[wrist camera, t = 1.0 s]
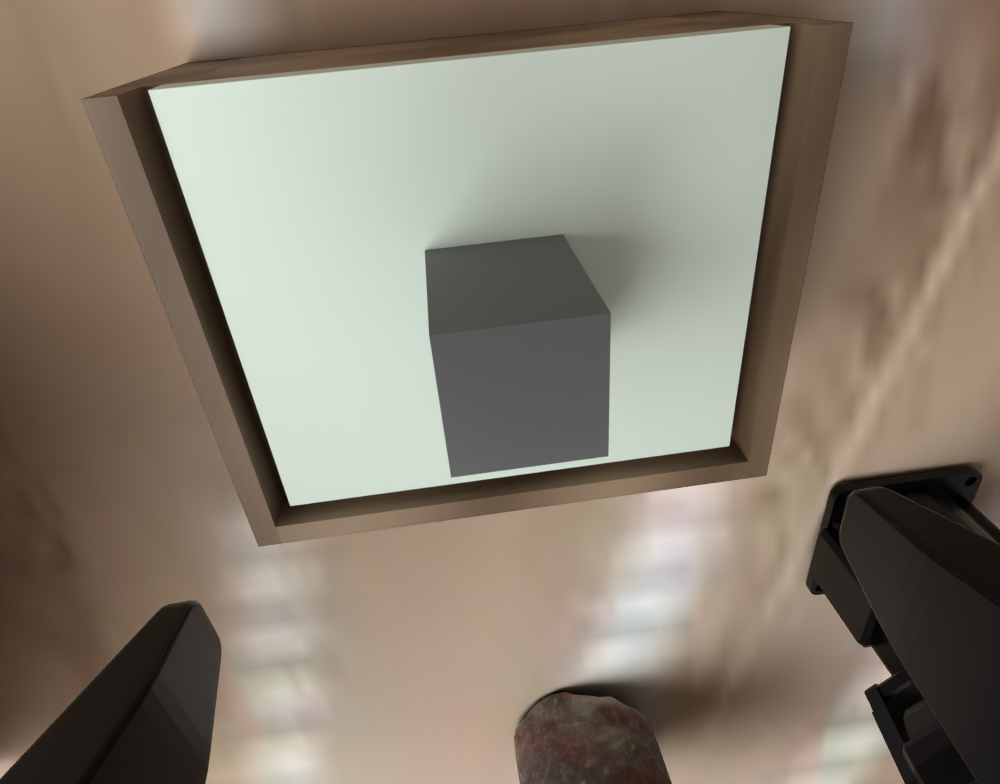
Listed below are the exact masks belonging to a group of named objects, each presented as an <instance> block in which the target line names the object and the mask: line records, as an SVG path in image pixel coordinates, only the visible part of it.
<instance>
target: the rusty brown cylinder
mask: <svg viewBox="0 0 1000 784" xmlns="http://www.w3.org/2000/svg"><path fill="white" fill-rule="evenodd" d="M514 742H515V754H516V760H517V767H518V774H519V780H520V784H672V783H671V780H670V778H669V775H668V772H667V769H666V766H665V763H664V760H663V757H662V754H661V751H660V748H659V745H658V743H657V740H656V738H655V735H654V732H653V729H652V727H651V724H650V723H649V722H648V720H647V719H646V718H645V717H644V715H643V714H642V713H641V712H640V711H639V710H638V709H635V708H632V707H629V706H626V705H625V704H623V703H621V702H620V701H618V700H616V699H615V698H613V697H594V696H588V695H575V694H572V693H568V692H562V693H557V694H553V695H550V696H548V697H546V698H544V699H543V700H542V701H540V702H539V703H537V704H536V705H535V706H534V707H533V708H532V709H531V710H530V711H529V712H528V714H527V716H526V717H525V718H524V719H523V720H522V721H521V722H520V723H519V725H518V726H517V728H516V730H515V736H514Z"/></svg>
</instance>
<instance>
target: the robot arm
mask: <svg viewBox="0 0 1000 784" xmlns="http://www.w3.org/2000/svg"><path fill="white" fill-rule="evenodd" d="M981 480H982V475H981V473H979V472H978V471H977V470H976V469H975V468H973V467H971V466H967V467H960V468H953V469H946V470H939V471H932V472H925V473H917V474H910V475H903V476H896V477H889V478H882V479H875V480H868V481H861V482H854V483H847V484H842V485H838V486H837V487H835V488H834V489H833V490H832V491H831V492H830V494H829V498H828V502H827V506H826V509H825V513H824V517H823V521H822V524H821V528H820V532H819V535H818V539H817V543H816V547H815V551H814V554H813V558H812V562H811V566H810V569H809V573H808V577H807V581H806V586H807V587H808V589H809V590H810V592H811V593H812V594H814V595H820V594H825V595H826V597H827V598H828V600H829V601H830V603H831V604H832V605H833V607H834V608H835V610H836V611H837V613H838V614H839V616H840V617H841V619H842V620H843V622H844V623H845V625H846V626H847V628H848V629H849V630H850V632H851V633H852V635H853V636H854V638H855V639H856V641H857V642H858V643H859V644H860V645H862V646H863V647H872V648H873V649H874V651H875V652H876V654H877V655H878V656H879V658H880V659H881V661H882V662H883V664H884V665H885V666H886V668H887V669H888V671H889V672H890V674H891V675H892V676H891V677H890V678H888V679H887V680H885V681H884V682H882V683H881V684H879V685H878V684H874V685H873V686H871V687H870V688H868V689H867V690H865V691H864V692H865V695H866V697H867V699H868V701H869V703H870V705H871V708H872V710H873V712H872V713H873V716H874V718H875V720H876V723H877V725H878V727H879V729H880V731H881V733H882V735H883V738H884V740H885V742H886V744H887V746H888V748H889V750H890V753H891V755H892V757H893V759H894V761H895V763H896V765H897V768H898V770H899V772H900V774H901V776H902V778H903V780H904V783H905V784H1000V530H999V529H998V528H997V527H996V526H995V525H994V524H993V523H992V522H991V521H990V520H989V519H987V518H986V517H985V516H984V515H983V514H982V513H981V512H980V511H979V510H978V509H977V508H976V507H974V506H973V505H972V501H973V499H974V497H975V494H976V492H977V490H978V487H979V485H980V483H981ZM220 662H221V643H220V639H219V637H218V634H217V633H216V631H215V629H214V627H213V625H212V624H211V622H210V620H209V618H208V616H207V615H206V613H205V611H204V609H203V607H202V606H201V605H200V603H198V602H196V601H186V602H180V603H174V604H168V605H166V606H164V607H162V608H161V609H160V610H159V611H158V612H157V613H156V614H155V615H154V616H153V617H152V618H151V619H150V620H149V621H148V622H147V624H146V625H145V626H144V627H143V628H142V629H141V630H140V631H139V632H138V633H137V634H136V635H135V636H134V637H133V638H132V639H131V641H130V642H129V643H128V644H127V645H126V646H125V647H124V648H123V649H122V650H121V651H120V652H119V653H118V654H117V655H116V656H115V658H114V659H113V660H112V661H111V662H110V663H109V664H108V665H107V666H106V667H105V668H104V669H103V670H102V671H101V672H100V673H99V675H98V676H97V677H96V678H95V679H94V680H93V681H92V682H91V683H90V684H89V685H88V686H87V687H86V688H85V689H84V690H83V692H82V693H81V694H80V695H79V696H78V697H77V698H76V699H75V700H74V701H73V702H72V703H71V704H70V705H69V706H68V707H67V709H66V710H65V711H64V712H63V713H62V714H61V715H60V716H59V717H58V718H57V719H56V720H55V721H54V722H53V723H52V724H51V726H50V727H49V728H48V729H47V730H46V731H45V732H44V733H43V734H42V735H41V736H40V737H39V738H38V739H37V740H36V741H35V743H34V744H33V745H32V746H31V747H30V748H29V749H28V750H27V751H26V752H25V753H24V754H23V755H22V756H21V757H20V758H19V760H18V761H17V762H16V763H15V764H14V765H13V766H12V767H11V768H10V769H9V770H8V771H7V772H6V773H5V774H4V775H3V777H2V778H1V779H0V784H205V782H206V777H207V772H208V766H209V758H210V751H211V742H212V734H213V725H214V716H215V707H216V698H217V689H218V680H219V671H220Z"/></svg>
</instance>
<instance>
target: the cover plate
mask: <svg viewBox="0 0 1000 784" xmlns="http://www.w3.org/2000/svg"><path fill="white" fill-rule="evenodd" d="M789 34H790V26H781V25H772V24H770V25H760V26H749V27H739V28H729V29H719V30H709V31H699V32H689V33H679V34H669V35H659V36H648V37H638V38H628V39H618V40H608V41H598V42H588V43H578V44H568V45H557V46H547V47H537V48H527V49H517V50H507V51H497V52H487V53H477V54H467V55H456V56H446V57H436V58H426V59H416V60H406V61H396V62H386V63H376V64H365V65H355V66H345V67H335V68H325V69H315V70H305V71H295V72H285V73H275V74H264V75H254V76H244V77H234V78H224V79H214V80H204V81H194V82H184V83H173V84H163V85H160V86H158V87H155V88H153V89H150V90H148V92H149V95H150V98H151V101H152V104H153V107H154V110H155V113H156V116H157V118H158V121H159V124H160V127H161V130H162V133H163V136H164V139H165V142H166V145H167V148H168V151H169V154H170V156H171V159H172V162H173V165H174V168H175V171H176V174H177V177H178V180H179V183H180V186H181V189H182V191H183V194H184V197H185V200H186V203H187V206H188V209H189V212H190V215H191V218H192V221H193V224H194V227H195V229H196V232H197V235H198V238H199V241H200V244H201V247H202V250H203V253H204V256H205V259H206V262H207V264H208V267H209V270H210V273H211V276H212V279H213V282H214V285H215V288H216V291H217V294H218V297H219V300H220V302H221V305H222V308H223V311H224V314H225V317H226V320H227V323H228V326H229V329H230V332H231V335H232V338H233V340H234V343H235V346H236V349H237V352H238V355H239V358H240V361H241V364H242V367H243V370H244V373H245V375H246V378H247V381H248V384H249V387H250V390H251V393H252V396H253V399H254V402H255V405H256V408H257V411H258V413H259V416H260V419H261V422H262V425H263V428H264V431H265V434H266V437H267V440H268V443H269V446H270V448H271V451H272V454H273V457H274V460H275V463H276V466H277V469H278V472H279V475H280V478H281V481H282V484H283V486H284V489H285V492H286V495H287V498H288V501H289V504H290V506H295V505H302V504H309V503H317V502H324V501H331V500H339V499H346V498H353V497H361V496H368V495H375V494H383V493H390V492H397V491H404V490H412V489H419V488H426V487H434V486H441V485H448V484H456V483H463V482H470V481H478V480H485V479H492V478H500V477H507V476H514V475H521V474H529V473H536V472H543V471H551V470H558V469H565V468H573V467H580V466H587V465H595V464H602V463H609V462H617V461H624V460H631V459H639V458H646V457H653V456H660V455H668V454H675V453H682V452H690V451H697V450H704V449H712V448H719V447H726V446H729V445H730V438H731V431H732V424H733V417H734V410H735V404H736V397H737V390H738V383H739V376H740V369H741V362H742V356H743V349H744V342H745V335H746V328H747V321H748V314H749V308H750V301H751V294H752V287H753V280H754V273H755V267H756V260H757V253H758V246H759V239H760V232H761V225H762V219H763V212H764V205H765V198H766V191H767V184H768V177H769V171H770V164H771V157H772V150H773V143H774V136H775V130H776V123H777V116H778V109H779V102H780V95H781V88H782V82H783V75H784V68H785V61H786V54H787V47H788V40H789Z"/></svg>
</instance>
